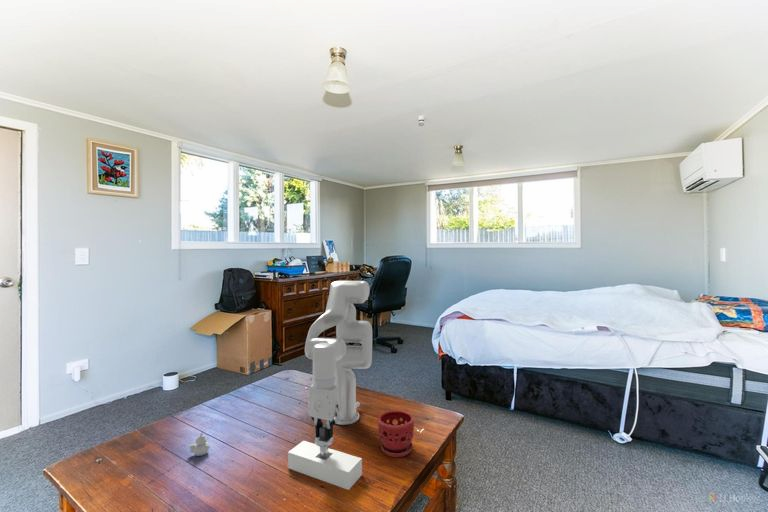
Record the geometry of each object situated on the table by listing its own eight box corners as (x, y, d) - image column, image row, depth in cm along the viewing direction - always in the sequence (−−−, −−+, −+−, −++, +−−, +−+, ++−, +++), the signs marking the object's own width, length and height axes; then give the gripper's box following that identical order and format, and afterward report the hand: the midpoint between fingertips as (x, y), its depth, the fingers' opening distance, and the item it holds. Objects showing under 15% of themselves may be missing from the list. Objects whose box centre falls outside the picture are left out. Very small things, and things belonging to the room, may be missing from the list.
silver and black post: (322, 449, 117) (322, 420, 117) (336, 454, 115) (336, 424, 115) (311, 459, 112) (310, 428, 112) (326, 464, 109) (326, 432, 109)
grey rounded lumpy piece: (207, 457, 122) (207, 435, 122) (186, 460, 120) (186, 437, 120) (211, 449, 127) (211, 427, 127) (191, 451, 125) (191, 429, 125)
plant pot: (417, 443, 130) (417, 412, 130) (408, 463, 118) (408, 428, 118) (384, 437, 135) (384, 407, 135) (372, 456, 122) (372, 422, 122)
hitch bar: (303, 455, 123) (303, 440, 123) (361, 474, 112) (361, 458, 112) (287, 468, 116) (287, 452, 116) (348, 490, 105) (348, 472, 105)
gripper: (297, 381, 114) (297, 436, 114) (338, 390, 106) (338, 449, 106) (311, 374, 120) (311, 426, 120) (351, 382, 113) (351, 437, 113)
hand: (324, 436), depth 113 cm, fingers closed on silver and black post, 3 cm apart
